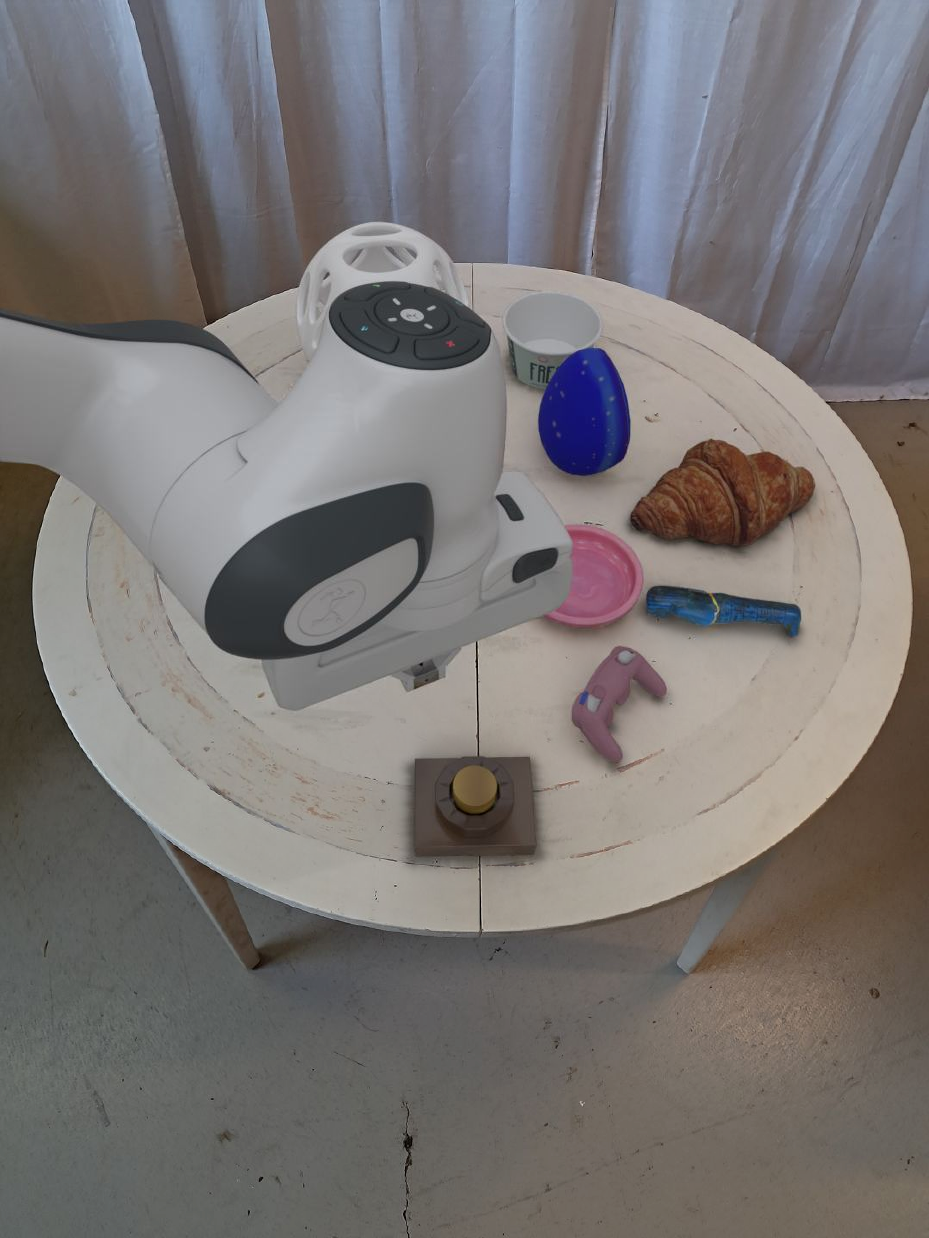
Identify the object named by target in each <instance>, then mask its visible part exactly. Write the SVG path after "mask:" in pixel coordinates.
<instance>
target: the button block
mask: <svg viewBox="0 0 929 1238" xmlns="http://www.w3.org/2000/svg"><path fill="white" fill-rule="evenodd" d="M471 765H478V766H482V767H485V768H487V769H488V770H489V771H491V772H492V774H493V775H494V777H495V779H496V782H497V792H496V799H495V802H494V804H493V805H492V806H491V808H489V809H488V810H487V811H485V812H483V813H479V814H471V813H467V812H464V811H463V810H461V809H460V808H459V807H458V806H457V805H456V803H455V801H454V799H453V781H454V778H455V776H456V774H457V773H458V772H459V771H460V770H461V769H463V768H465V767H467V766H471ZM531 766H532V765H531V757H530V756H497V757H495V756H493V757H491V756H489V757H486V756H483V755H479V756H476V755H474V756H461V757H438V758H437V757H436V758H435V757H433V758H430V757H429V758H414V822H413V823H414V825H413V826H414V832H413V833H414V835H413V836H414V837H413V839H414V840H413V841H414V842H413V846H414V847H413V848H414V856H415V857H416V858H421V857H423V858H424V857H426V858H427V857H428V858H429V857H472V856H474V857H475V856H476V857H477V856H480V857H481V856H523V855H525V856H526V855H527V856H528V855H531V856H532V855H535V852H536V849H537V834H536V820H535V819H536V818H535V807H534V795H533V794H534V792H533V780H532V767H531Z"/></svg>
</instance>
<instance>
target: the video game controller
mask: <svg viewBox="0 0 929 1238" xmlns="http://www.w3.org/2000/svg"><path fill="white" fill-rule="evenodd" d="M632 680H633V681H634V682H636V683H637V684H639V685H640V686H641V687H642V688H643V689H644V690H645V691H647V692H649V693H650V694H652V695H653V696H657V697H664V696H666V695H667V690H668V689H667V685H666V682H665V680H664V679H663V678H662V676H661V675H660V674H659V673H658V671H656V669H654V667H653V666H652V665H651V664H650V663H649V661H647V659H646V658H645V657H644V656H643V655H642V654H641V653H639V652H638V651H636V650H635V649H633V648H631V647H627V646H623V645H618V646H615V647H614V648H612V650H611V651H610V653H609V655H607V656H606V657H605V658H604V660H602V661H601V663H600V664H599V665H598V666H597V668H596V669H595V671H594V672H593V673H592V675H591V677H590V678H589V680H588V681H587V683H586V685H585V687H584V689H583V691H581V692H580V693H579V694H578V695H577V696H576V698H575V699H574V701H573V703H572V707H571V713H570V714H571V721H572V724H573V726H574V727H575V728H577V729H579V730H580V732H581V734H582V735H583V736H584V739H586V740H587V742H588V743H589V744H590V745H591V746H592V748H593V749H594V750H595V751H596V752H597V753H598V754H599V755H600V756H601V757H603V758H604V759H606V760H607V761H609V762H611V763H620V762H621V761H622V760H623V758H624V757H623V751H622V748H621V746H620V745H619V743H618V742H617V741H616V739H615V738H614V737H613V735H612V734H611V732H610V730H609V729H608V728H609V727H610V726H611V725H612V722H613V719H614V712H615V711H614V708H613V706H614V705H615V704H617V705H622V706H623V705H624V704H625V703H627V701H628V699H629V698H630V695H631V681H632Z"/></svg>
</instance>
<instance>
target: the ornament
mask: <svg viewBox="0 0 929 1238" xmlns="http://www.w3.org/2000/svg"><path fill="white" fill-rule="evenodd" d="M629 406H630V405H629V400H628V395H627V392H626V388H625V385H624V381H623V380H622V377H621V376H620V373H619V371H618V369H617V368H616V365H615V363H614V362H613V361H612V359H611V357H610V356H609V355H608V353H607V352H606V350H604V349H602V348H600V347H593V348H585V349H582V350H578V351H576V352H575V353H573V354H572V355H570V356H569V357H568V358H566V359H565V361H564V362H563V363H562V364H561V365H560V366H559V368H558V369H557V370H556V372H555V373H554V375H553V376H552V378H551V380H550V382H549V384H548V385H547V387H546V390H544V391H543V395H542V397H541V401H540V404H539V409H538V415H537V416H538V417H537V418H538V419H537V430H538V435H539V439H540V443H541V446H542V448H543V450H544V452H545V454H546V457H547V458H548V459H549V461H550V462H551V463H552V464H553V465H554V466H555V467H556V468H558V469H559V470H560V471H562V472H564V473H566V474H570V475H573V476H580V477H587V476H594V475H598V474H601V473H604V472H606V471H607V470H610V469H613V467H615V466H617V465H618V464H620V463H621V462H622V461H623V460H624V459H625V457H626V456H627V452H628V449H629V445H630V443H631V429H632V428H631V427H632V425H631V424H632V423H631V415H630V407H629Z"/></svg>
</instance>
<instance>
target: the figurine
mask: <svg viewBox="0 0 929 1238" xmlns="http://www.w3.org/2000/svg"><path fill="white" fill-rule="evenodd" d="M645 610H646V613H647V614H648V615H649V616H654V617H657V618H658V617H659V618H667V617H670V615H671V616H674V617H676V618H679V619H681V620H683V621H686V622H687V623H691V624H694V625H698V626H701V627H709V626H711V625H712V624H719V625H720V624H721V625H722V624H723V625H726V624H736V623H738V624H739V623H745V622H750V623H751V622H752V623H758V624H765V625H774V626H783V627H784V628H785V629H786V631H787V634H788V636H789V637H790V638H796V637H797V636H798V635H799V631H800V625H801V622H802V610H801V607H800V606H798V605H797V604H795V603H788V602H783V601H775V600H767V599H759V598H752V597H751V598H750V597H746V596H745V597H743V596H738V595H737V596H736V595H732V594H728V593H726V592H707V591H706V590H704V589H703V590H702V589H698V588H693V587H692V588H691V587H684V586H677V585H662V584H660V585H659V584H658V585H654V586H651V587H650V588H648V590H647V591H646V594H645Z"/></svg>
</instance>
